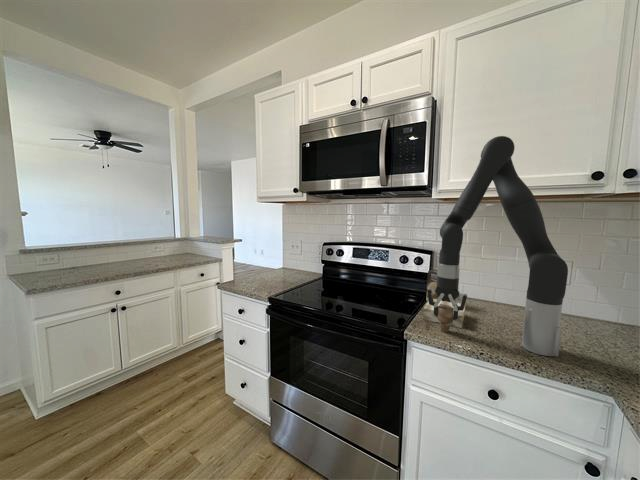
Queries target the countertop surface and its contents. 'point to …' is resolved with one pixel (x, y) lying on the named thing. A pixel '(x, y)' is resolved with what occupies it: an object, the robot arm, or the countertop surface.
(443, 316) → the walnut peg
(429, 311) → the birch block
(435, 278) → the coffee box
